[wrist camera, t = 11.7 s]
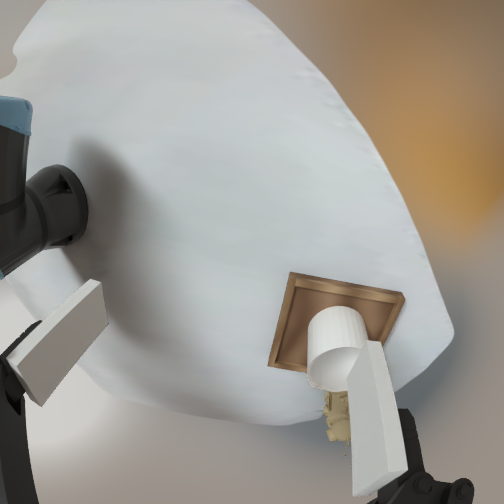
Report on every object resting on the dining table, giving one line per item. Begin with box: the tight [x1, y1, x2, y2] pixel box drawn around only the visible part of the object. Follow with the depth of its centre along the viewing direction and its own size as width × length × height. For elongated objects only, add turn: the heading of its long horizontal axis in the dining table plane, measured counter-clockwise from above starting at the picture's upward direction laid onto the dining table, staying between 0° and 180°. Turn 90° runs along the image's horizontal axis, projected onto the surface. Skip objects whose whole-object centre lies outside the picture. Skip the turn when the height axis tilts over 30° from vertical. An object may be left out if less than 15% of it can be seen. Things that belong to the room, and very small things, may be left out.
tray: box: [268, 272, 405, 373], centre depth 43 cm, size 18×18×2 cm
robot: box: [322, 391, 351, 456], centre depth 43 cm, size 10×8×15 cm
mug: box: [307, 306, 369, 392], centre depth 38 cm, size 12×9×9 cm
